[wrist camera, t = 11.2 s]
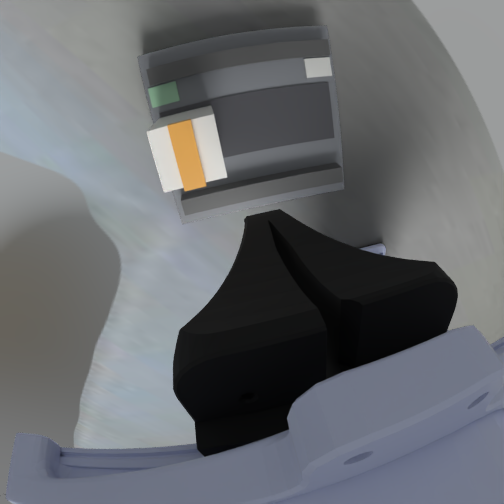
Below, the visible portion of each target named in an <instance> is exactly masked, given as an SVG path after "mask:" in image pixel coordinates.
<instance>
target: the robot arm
mask: <svg viewBox="0 0 504 504" xmlns="http://www.w3.org/2000/svg"><path fill="white" fill-rule="evenodd" d="M244 222H245V228H244V234H243V238H242V242H241V245H240V248H239V251H238V254H237V257H236V259H235V262H234V264H233V266H232V268H231V270H230V272H229V274H228V276H227V277H226V279H225V281H224V282H223V284H222V285H221V287H220V288H219V290H218V291H217V293H216V294H215V295H214V297H213V298H212V299H211V300H210V301H209V303H208V304H207V305H206V306H205V307H204V308H203V309H202V310H201V311H200V312H199V313H198V314H197V315H196V316H195V317H194V318H193V319H191V320H190V321H189V322H188V323H187V324H186V325H185V326H184V327H182V328H181V329H180V331H179V335H178V339H177V343H176V348H175V354H174V361H173V390H174V392H175V395H176V397H177V399H178V400H179V401H180V403H181V404H182V405H183V407H184V408H185V409H186V411H187V412H188V413H189V415H190V416H191V417H192V418H193V420H194V421H195V430H196V444H187V445H178V446H167V447H153V448H133V449H84V448H65V447H60V446H59V445H58V444H57V443H56V442H54V441H53V440H52V439H50V438H48V437H46V436H43V435H39V434H29V433H16V437H15V442H14V447H13V452H12V457H11V463H10V469H9V476H8V484H7V491H6V499H7V500H8V501H9V502H11V503H14V504H504V337H502V338H501V339H499V340H497V341H496V342H494V343H492V344H491V345H490V344H489V342H488V341H487V340H486V338H485V337H484V336H483V335H482V333H481V332H480V331H479V330H478V329H477V328H476V327H475V326H474V325H470V326H464V327H460V328H456V329H452V330H450V331H448V330H447V329H448V326H449V324H450V321H451V319H452V316H453V313H454V310H455V307H456V303H457V298H458V293H457V287H456V285H455V284H454V282H453V281H452V280H451V279H450V277H449V276H448V275H447V274H446V273H445V272H444V271H443V270H442V269H441V268H440V267H439V266H438V265H437V264H436V263H435V262H429V261H418V260H408V259H401V258H395V257H390V256H385V251H386V247H385V246H384V245H383V244H382V243H381V244H376V245H372V246H368V247H364V248H360V249H358V248H355V247H352V246H349V245H347V244H344V243H341V242H339V241H336V240H334V239H332V238H329V237H327V236H325V235H323V234H321V233H319V232H317V231H315V230H313V229H311V228H310V227H308V226H306V225H304V224H303V223H301V222H299V221H298V220H296V219H295V218H293V217H291V216H290V215H288V214H287V213H285V212H283V211H282V210H280V209H278V210H273V211H269V212H264V213H260V214H255V215H251V216H247V217H246V218H245V219H244ZM379 253H381V254H379Z"/></svg>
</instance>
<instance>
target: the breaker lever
mask: <svg viewBox="0 0 504 504" xmlns="http://www.w3.org/2000/svg"><path fill="white" fill-rule="evenodd" d="M147 135H148V139H149V143H150V146H151V150H152V153H153V157H154V160H155V164H156V167H157V171H158V174H159V177H160V181H161V184H162V187H163V191H164V193H165V192H169V191H173V190H177V189H181V188H184V191H189V190H193V189H197V188H201V187H205V186H206V182H209V181H214V180H218V179H222V178H227V173H226V168H225V164H224V159H223V154H222V150H221V145H220V141H219V136H218V131H217V127H216V122H215V117H214V113H213V110H212V107H211V105H210V106H206V107H202V108H197V109H193V110H189V111H185V112H181V113H177V114H174V115H170V116H166V117H163V118H159V119H158V120H157V121H156V122H155V123H154V124H153V125H152V127H151V128H150V129H149V130H148V131H147Z"/></svg>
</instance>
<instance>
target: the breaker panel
mask: <svg viewBox="0 0 504 504" xmlns="http://www.w3.org/2000/svg"><path fill="white" fill-rule="evenodd" d="M137 58H138V63H139V67H140V72H141V76H142V80H143V84H144V88H145V93H146V97H147V101H148V105H149V109H150V113H151V117H152V120H153V124H154V123H155V122H156V121H157V120H158V119H159V118H163V117H166V116H170V115H174V114H177V113H181V112H185V111H189V110H193V109H197V108H202V107H206V106H210V105H211V107H212V110H213V113H214V117H215V122H216V127H217V131H218V136H219V141H220V145H221V150H222V154H223V159H224V164H225V168H226V173H227V178H222V179H218V180H214V181H209V182H206V186H205V187H201V188H197V189H193V190H189V191H184V188H181V189H177V190H173V191H172V192H173V196H174V199H175V202H176V206H177V209H178V212H179V215H180V219H181V222H182V224H186V223H190V222H194V221H199V220H203V219H207V218H211V217H215V216H220V215H224V214H228V213H233V212H237V211H242V210H246V209H251V208H255V207H260V206H264V205H269V204H274V203H278V202H283V201H288V200H293V199H297V198H302V197H307V196H312V195H317V194H322V193H327V192H333V191H338V190H343V189H344V172H343V156H342V142H341V130H340V119H339V109H338V100H337V91H336V83H335V75H334V68H333V61H332V54H331V47H330V41H329V35H328V29H327V25H324V26H299V27H285V28H274V29H264V30H256V31H248V32H241V33H235V34H229V35H223V36H217V37H212V38H207V39H202V40H198V41H193V42H189V43H185V44H180V45H176V46H172V47H169V48H165V49H161V50H158V51H154V52H151V53H148V54H144V55H141V56H138V57H137Z"/></svg>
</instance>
